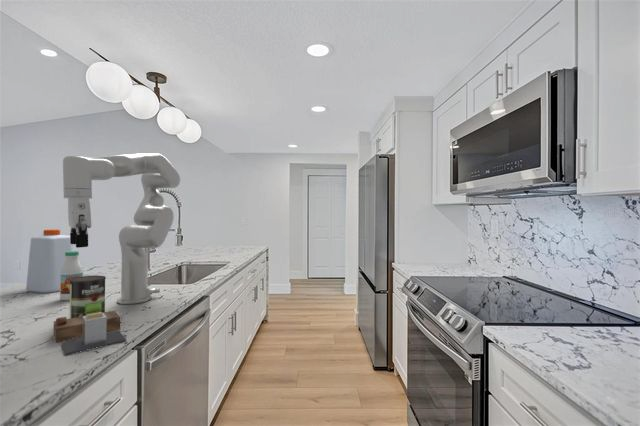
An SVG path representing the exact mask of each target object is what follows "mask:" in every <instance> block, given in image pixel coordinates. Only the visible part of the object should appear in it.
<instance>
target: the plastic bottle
mask: <svg viewBox="0 0 640 426" xmlns="http://www.w3.org/2000/svg"><path fill="white" fill-rule="evenodd" d="M42 233H43V234H42V235H35V236H32V237H31V239H30V245H29V255H28V266H27V275H26V286H25V287H26V288H25V289H26V291H27V292H29V293H39V294H50V293H55V292H60V274H61V269H62V267H63V265H64V263H65V260H66V257H65V252H67V251H74V250H73V248H74V247H73V244H70V235H69V234H68V235H67V234H66V235H65V234H61V230H60V229H54V228H53V229H43V232H42Z"/></svg>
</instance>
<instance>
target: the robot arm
mask: <svg viewBox="0 0 640 426" xmlns="http://www.w3.org/2000/svg"><path fill="white" fill-rule="evenodd" d="M62 172H63V173H62V175H63V176H62V177H63V199H67V202H68V203H67V215H68V217H67V218H68V226H69V227H70V234H69V236H70V244H72V245H75V247H76V248H87V247H89V232H88V229H91V228H92V215H91V214H92V213H91V212H92V211H91V203H90V202H91V201H90V199H93V198H92V197H93V191H92V190H93V188H92V187H93V184H92V182H93V181H106V180H107V181H108V180H111V179H112V178H124V177H132V176H137V175H140V176H141V177H140V181H141V185H142V189H143V193H144V194H143V195H144V196H143V198H142V200H141V202H140V203H139V206H138V207H137V209H136V211H135V212H134V216H133V222H134V223H135V224H130V225H126V226H123V227H122V228H121V229H120V230H119V233H118V242H119V247H120V251H121V252H120V253H121V271H120V272H121V277H120V279H121V283H120V284H121V285H120V286H121V287H120V289H121V293H120V296H119V297H118V298H117V299H116V303H117V304H121V305H133V304H142V303H145V302H148V301H150V300H151V299H152V294H159V293H160V288H159V287H158V288H155V287H153V288H149V287H148V277H149V276H148V274H149V273H148V272H149V271H148V267H149V266H148V262H149V259H148V254H147V252H146V250H145V249H157V248H160V247H161V246H162V245H163V244H164V243H165V240H166V238H167V237H168V234H169V232H170V230H171V228H172V226H173V223H174V218H175V215H174V212H173V210H172V208H171V207H170V206H168V205H164V204H165V199H164V197H163V195H162V194H161V191H160V190H159V189H175V188H178V187H179V185H180V183H181V177H180V174H179V172H178V171H177V169H176V168H175V167H174V166H173V164H172V163H171V161H169V160H168V158H167V157H165V156H164V155H162V154H161V153H131V154H130V153H129V154H119V155H118V154H117V155H110V156H109V155H108V156H99V157H98V156H97V157H86V156H79V155H69V156H64V158H63V159H62Z"/></svg>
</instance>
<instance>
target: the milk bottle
mask: <svg viewBox="0 0 640 426" xmlns="http://www.w3.org/2000/svg"><path fill="white" fill-rule="evenodd" d="M79 254H80V252H79V251H78V250H73V251H67V252H65V257H66V260H65V263H64V265H63V267H62V269H61V274H60V291H59V298H60V300H61V301H70V282H69V280H70V279H72V278H76V277H82V276H84V270H83V266H82V265H81V263H80V260H79Z"/></svg>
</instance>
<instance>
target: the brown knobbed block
mask: <svg viewBox="0 0 640 426" xmlns="http://www.w3.org/2000/svg"><path fill="white" fill-rule="evenodd" d="M104 314H105V316H106V317H107V322H106V333H109V332H114V331H119V330H121V316H120V314H118V313H117V311H116V310H112V311H110V310H109V311H105V312H104ZM108 331H109V332H108ZM82 334H83V316H82V317H76V318H70V317H69V318H67V317H66V316H60V317H57V318H56V319H55V320H54V321H53V337H55V338H54V340H55V343H60V342H59V341H61V342H64V341H63V340H66V341H69V340H68V339H71V340H73V339H72V338H75V339H78V338H77V337H80V338H82Z"/></svg>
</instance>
